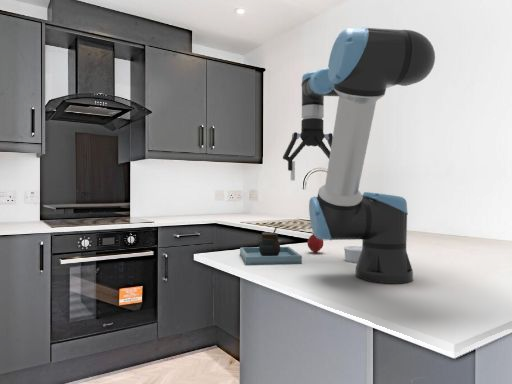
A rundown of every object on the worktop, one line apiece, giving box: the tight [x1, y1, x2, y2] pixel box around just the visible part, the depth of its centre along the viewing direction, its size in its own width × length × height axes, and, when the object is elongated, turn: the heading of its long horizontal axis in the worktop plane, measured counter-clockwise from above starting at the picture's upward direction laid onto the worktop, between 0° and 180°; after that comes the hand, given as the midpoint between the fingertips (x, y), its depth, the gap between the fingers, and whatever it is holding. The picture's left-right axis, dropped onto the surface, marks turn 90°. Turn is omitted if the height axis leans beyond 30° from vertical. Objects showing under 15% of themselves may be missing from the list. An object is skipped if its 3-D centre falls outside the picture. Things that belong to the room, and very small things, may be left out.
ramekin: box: [343, 245, 362, 264], centre depth 133 cm, size 9×9×4 cm
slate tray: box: [239, 246, 303, 266], centre depth 134 cm, size 18×18×2 cm
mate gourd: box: [258, 226, 281, 256], centre depth 134 cm, size 7×8×10 cm
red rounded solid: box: [307, 233, 324, 254], centre depth 146 cm, size 6×6×8 cm
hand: (311, 180), depth 137 cm, fingers open, 13 cm apart
